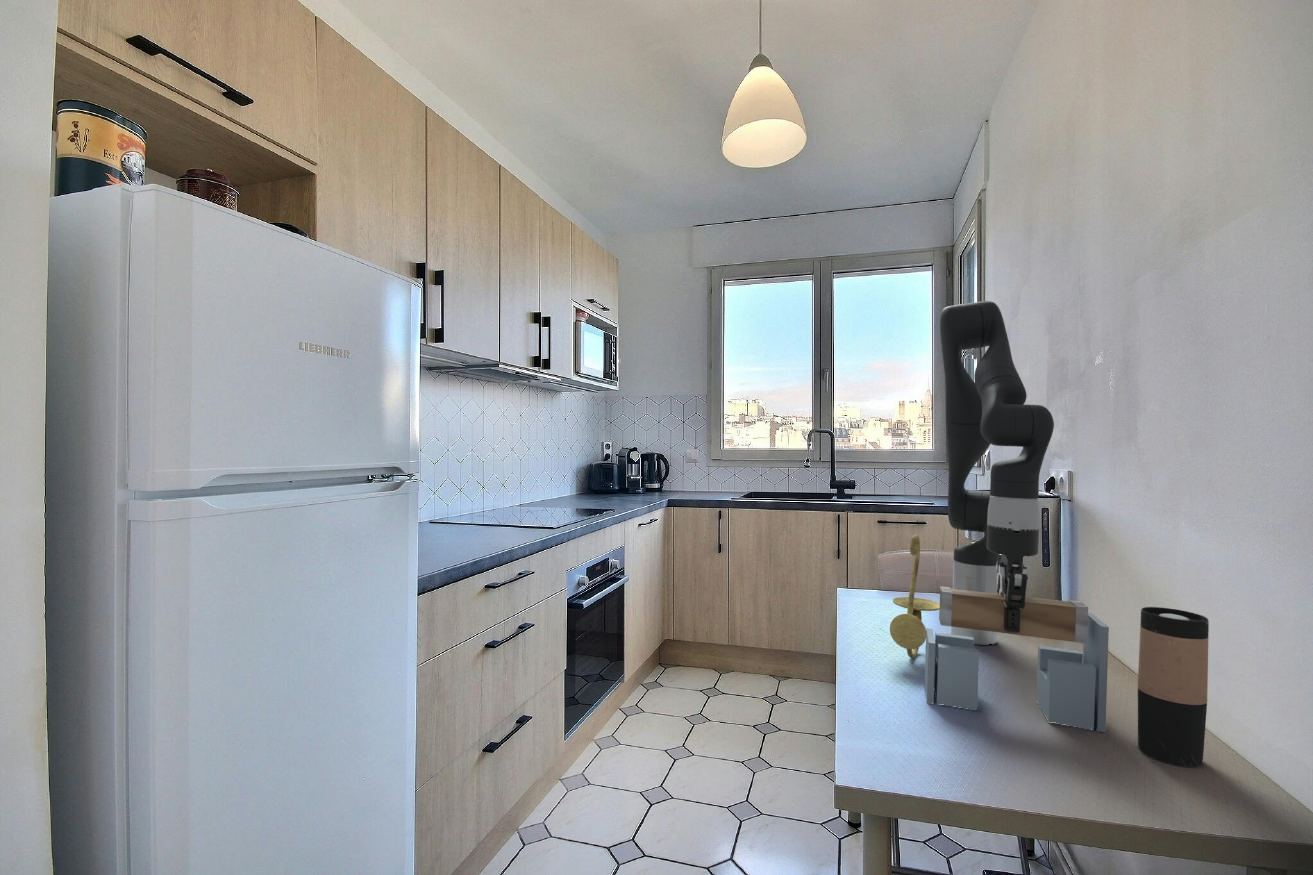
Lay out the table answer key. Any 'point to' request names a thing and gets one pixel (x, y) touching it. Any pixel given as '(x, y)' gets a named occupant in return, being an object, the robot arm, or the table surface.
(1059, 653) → the pair of grey brackets
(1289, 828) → the table surface
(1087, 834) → the table surface
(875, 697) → the table surface
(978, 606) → the brown wooden bar
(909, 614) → the wall sconce
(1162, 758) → the travel mug
